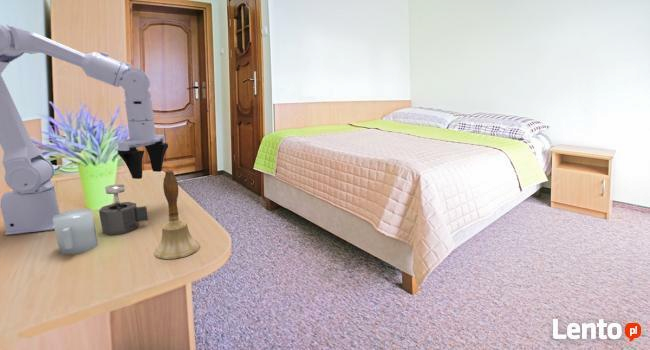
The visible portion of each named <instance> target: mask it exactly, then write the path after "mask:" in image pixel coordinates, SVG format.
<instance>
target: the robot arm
mask: <svg viewBox="0 0 650 350" xmlns="http://www.w3.org/2000/svg"><path fill="white" fill-rule="evenodd" d="M40 53H41V54H43V55H47V56H49V57H53V58H55V59H58V60H61V61H63V62H66V63H69V64H72V65H75V66H78V67H80V68H81V69H82V71H83V72H84V74H85V75H86V76H87V77H90V78H92V79H94V80H98V81H100V82H103V83H104V84H108V85H111V86H113V87H117V88H119V87H122V89H123V91H124V97H125V101H124V104H125V112H126V120H127V128H128V136H129V138H128V139H125V140H122V141H119V142H117V144H118V145H117V146H118V150H117V154H118V156H119V157H120V158H121V159H122V160H123V162H124V164H125V165H126V166H127V167H126V168H127V169H128V171H129V173H130V176H131V178H132V179H134V180H137V179H138V180H139V179H140V180H141V179H142V178H143V158H144V154H145V151H144V150H139V149H138V148H142V147H145V150H146V152H147V155H148V157H149V162H150V167H151V170H152V172H157V173H158V172H159V173H160V172H162V171H163V166H164V165H163V163H164V158H165V155H166V152H167V150H168V148H169V143H168V142H166V135H165V134H156V127H155V118H154V117H155V116H154V109H153V100H151V92H150V90H149V89H150V86H151V79H150V77H149V75H148V74H147V73H146V72H145V71H143V70H141V69H139V68H135V67H132V64H131V63H129V62H125V63H124V62H122V61H120V60H117V59H115V58H112V57H109V53H107V52H104V51H100V53H99V52H98V51H93V52H90V53H84V52H81V51H79V50H76V49H74V48H71V47H69V46H67V45H65V44H62V43H60V42H58V41H55V40H53V39H51V38H48V37H46V36H44V35H41V34H39V33H36V32H34V31H31V30H27V29H24V28H23V29H22V28H20V27H18V26H17V27H16V26H13V25H10V24H9V25H8V24H5V25H4V24H2V23H0V147H1V149H2V151H3V157H2V166H3V167H4V171H5V173H4V181H5V183H6V185H7V187H9V188H10V189H12V191H6V192H5V193H3V194H2V196H1V198H0V211H1V214H2V215H1V216H2V219H3V222H4V223H3V224H4V226H5V231H6V232H4V235H5V236H8V235H17V234H27V233H36V232H44V231H53V230H54V231H55V228H54V223H53V217H54V216H55V215H57V214H60V213H61V212H60V209H59V204H58V197H57V195H56V193H57V192H56V187H55V185H54V184H55V183H53V182H52V181H51V180H52V178H53V177H54V175H55V167H54V165H53V163H52V162H51V161H49V160H48V159H47V158H46V157H45V156H44V154H43V152H42V151H41V150H40V148H38V147H37V146H36V145H34V143H33V140H32V139H31V136H30V134H29V132H28V130H27V128H26V126H25V123H24V121H23V120H22V117H21V115H20V113H19V111H18V108H17V107H16V104H15V102H14V100H13V97H12V96H11V95H12V94H11V93H10V92H9V89H8V87H7V85H6V83H5V80H4V78H3V76H2V73H3V72H4V71H5V69H6V68H7V67H8V65H9V64H10V63H11V62H13V61H15V60H16V59H18V58H20V57H21V56H23V55H24V54H29V55H32V54H33V55H34V54H40ZM131 67H132V68H131Z"/></svg>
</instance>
